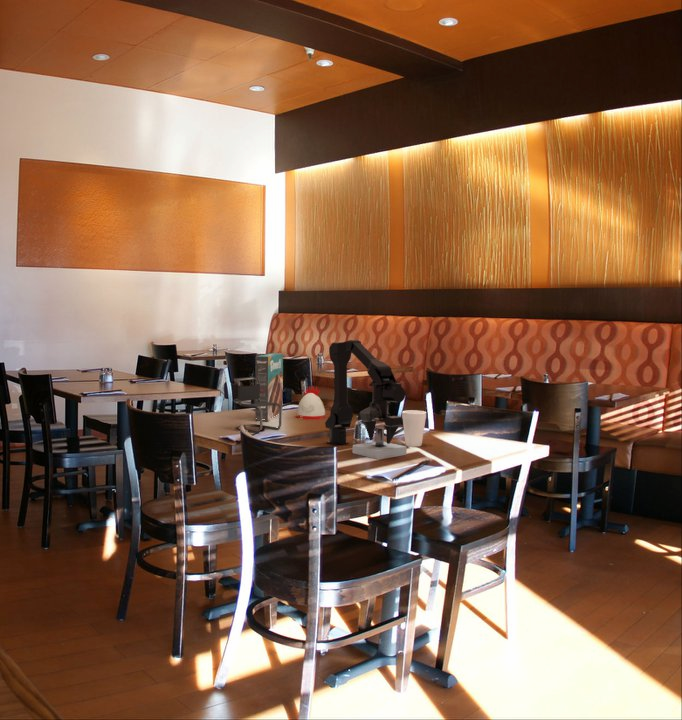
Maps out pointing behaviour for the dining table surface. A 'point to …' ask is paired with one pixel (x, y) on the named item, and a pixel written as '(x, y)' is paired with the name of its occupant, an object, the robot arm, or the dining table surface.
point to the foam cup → (413, 427)
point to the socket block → (379, 450)
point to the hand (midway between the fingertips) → (379, 441)
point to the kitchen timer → (311, 405)
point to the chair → (251, 394)
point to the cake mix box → (269, 384)
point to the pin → (379, 437)
